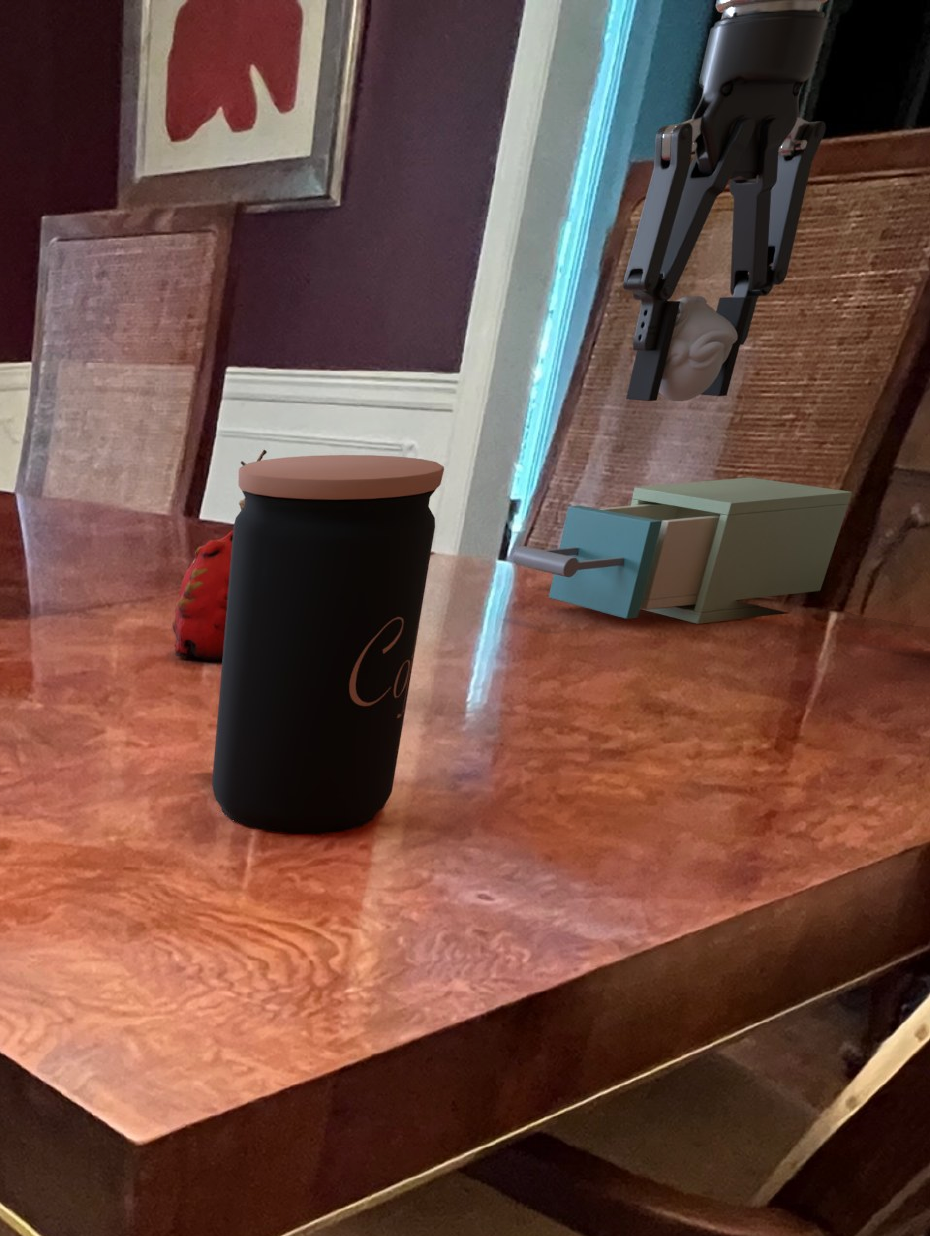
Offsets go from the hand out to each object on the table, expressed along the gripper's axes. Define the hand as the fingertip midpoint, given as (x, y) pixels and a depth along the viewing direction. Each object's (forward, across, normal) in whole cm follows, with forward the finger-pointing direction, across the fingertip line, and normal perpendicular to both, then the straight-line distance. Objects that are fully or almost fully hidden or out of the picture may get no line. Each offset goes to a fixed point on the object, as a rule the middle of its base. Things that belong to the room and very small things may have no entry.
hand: (676, 396), depth 111 cm
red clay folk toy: (+17, -38, +4) cm, 42 cm away
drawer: (+16, 0, +2) cm, 16 cm away
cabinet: (+17, +11, +2) cm, 20 cm away
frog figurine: (+1, 0, 0) cm, 1 cm away
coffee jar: (+17, -53, -35) cm, 65 cm away
